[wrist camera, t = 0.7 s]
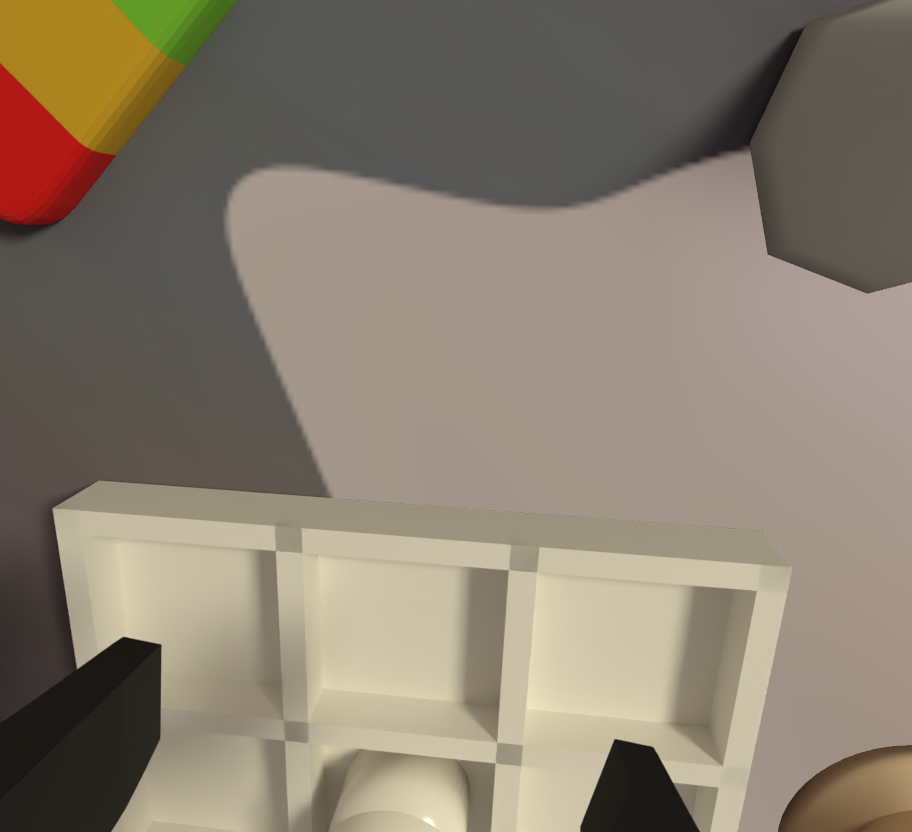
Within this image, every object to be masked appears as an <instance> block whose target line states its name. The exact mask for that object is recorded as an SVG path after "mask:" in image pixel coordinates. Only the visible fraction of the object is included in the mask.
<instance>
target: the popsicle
mask: <svg viewBox="0 0 912 832" xmlns="http://www.w3.org/2000/svg"><path fill="white" fill-rule="evenodd" d="M236 1H237V0H0V219H3V220H5V221H7V222H9V223H12V224H22V225H49V224H53V223H55V222H57V221H59V220H62V219H64V218H65V217H66V216H67V215H68V214H69V213H70V212H71V211H72V210H73V209H74V208H75V207H76V206H77V205H78V203H79V202H80V201H81V200H82V198H83V197H84V196H85V195H86V193H87V192H88V191H89V189H90V188H91V187H92V186H93V184H94V183H95V182H96V181H97V179H98V178H99V177H100V175H101V174H102V173H103V172H104V170H105V169H106V168H107V167H108V165H109V164H110V163H111V161H112V160H113V159H114V158H115V156H116V155H117V154H118V153H119V151H120V150H121V149H122V147H123V146H124V145H125V144H126V142H127V141H128V140H129V139H130V137H131V136H132V135H133V133H134V132H135V131H136V130H137V128H138V127H139V126H140V125H141V123H142V122H143V121H144V119H145V118H146V117H147V116H148V114H149V113H150V112H151V111H152V109H153V108H154V107H155V105H156V104H157V103H158V102H159V100H160V99H161V98H162V97H163V95H164V94H165V93H166V91H167V90H168V89H169V88H170V86H171V85H172V84H173V83H174V81H175V80H176V79H177V77H178V76H179V75H180V74H181V72H182V71H183V70H184V69H185V67H186V66H187V65H188V63H189V62H190V61H191V60H192V58H193V57H194V56H195V55H196V53H197V52H198V51H199V49H200V48H201V47H202V46H203V44H204V43H205V42H206V41H207V39H208V38H209V37H210V35H211V34H212V33H213V32H214V30H215V29H216V28H217V27H218V25H219V24H220V23H221V21H222V20H223V19H224V18H225V16H226V15H227V14H228V13H229V11H230V10H231V9H232V7H233V6H234V5H235V3H236ZM132 23H133V24H132Z"/></svg>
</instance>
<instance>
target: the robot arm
mask: <svg viewBox="0 0 912 832" xmlns="http://www.w3.org/2000/svg"><path fill="white" fill-rule="evenodd" d="M161 651H162V644H157V643H152V642H147V641H142V640H138V639H133V638H128V637H122V638H120V639H119V640H117V641H116V642H114V643H113V644H111V645H110V646H109V647H107V648H106V649H104V650H103V651H102V652H100V653H99V654H97V655H96V656H95V657H93V658H92V659H91V660H89V661H88V662H86V663H85V664H84V665H82V666H81V667H80V668H78V669H77V670H75V671H74V672H73V673H71V674H70V675H68V676H67V677H66V678H64V679H63V680H62V681H60V682H59V683H57V684H56V685H55V686H53V687H52V688H50V689H49V690H48V691H46V692H45V693H43V694H42V695H41V696H39V697H38V698H36V699H35V700H34V701H32V702H31V703H29V704H28V705H26V706H25V707H24V708H22V709H21V710H19V711H18V712H16V713H15V714H13V715H12V716H10V717H9V718H8V719H6V720H5V721H3V722H2V723H0V832H112V830H113V828H114V827H115V825H116V824H117V822H118V820H119V819H120V817H121V815H122V814H123V812H124V811H125V809H126V807H127V805H128V803H129V801H130V799H131V797H132V796H133V794H134V792H135V790H136V788H137V786H138V784H139V782H140V780H141V778H142V776H143V774H144V772H145V770H146V768H147V765H148V763H149V761H150V759H151V757H152V755H153V753H154V751H155V749H156V747H157V745H158V743H159V741H160V734H161ZM580 832H700V831H699V829H698V827H697V825H696V823H695V822H694V820H693V818H692V816H691V814H690V813H689V811H688V809H687V807H686V805H685V803H684V802H683V800H682V798H681V796H680V794H679V792H678V791H677V789H676V787H675V785H674V783H673V781H672V779H671V778H670V776H669V774H668V772H667V770H666V768H665V766H664V765H663V763H662V761H661V759H660V757H659V755H658V754H657V752H656V750H655V749H654V747H652V746H647V745H642V744H637V743H633V742H628V741H623V740H618V739H614V741H613V744H612V747H611V749H610V752H609V754H608V757H607V759H606V762H605V764H604V767H603V770H602V772H601V775H600V777H599V780H598V782H597V785H596V787H595V790H594V793H593V795H592V798H591V800H590V803H589V805H588V808H587V810H586V813H585V816H584V818H583V821H582V823H581V826H580Z"/></svg>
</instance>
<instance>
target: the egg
mask: <svg viewBox="0 0 912 832" xmlns="http://www.w3.org/2000/svg"><path fill="white" fill-rule="evenodd" d="M469 799H470V785H469V780H468V777H467V774H466V772H465V770H464V769H463V767H462V765H461V764H460V763H459V761H458V760H457V759H450V758H440V757H431V756H422V755H413V754H403V753H394V752H385V751H375V750H366V749H361V750H360V751H359V752H358V753H357V754H356V755H355V757H354V758H353V760H352V762H351V764H350V766H349V769H348V772H347V775H346V779H345V782H344V785H343V788H342V791H341V794H340V797H339V800H338V804H337V807H336V810H335V813H334V816H333V819H332V822H331V825H330V829H329V832H467V821H468V810H469Z"/></svg>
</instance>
